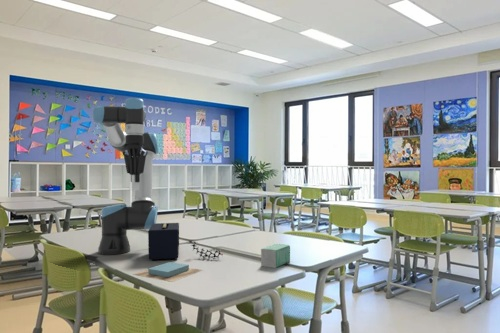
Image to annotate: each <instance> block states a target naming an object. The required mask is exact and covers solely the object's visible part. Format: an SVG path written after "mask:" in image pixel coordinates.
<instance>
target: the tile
mask: <svg viewBox="0 0 500 333" xmlns="http://www.w3.org/2000/svg"><path fill="white" fill-rule="evenodd" d="M189 268H190V266H189V264H185V263H179V262H171V261H169V262H166V263H165V262H164V263H162V264H159V265H156V266H152V267H150V268H149V267H148V268H147V270H148V274H152V275H157V276H163V277H170V276H173V275H176V274H179V273H182V272H184V271H187V270H189Z"/></svg>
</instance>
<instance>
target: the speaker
mask: <svg viewBox="0 0 500 333" xmlns="http://www.w3.org/2000/svg"><path fill="white" fill-rule="evenodd" d="M147 233H148V234H147V236H148V241H147V242H148V250H147V251H148V252H147V253H148V260H151V261H157V260H165V259H166V260H168V259H170V260H172V261H173V260H176V259H178V258H179V252H180V222H162V223H161V222H160V223H158V222H156V224H152V226H151V227H150V229H148V232H147Z"/></svg>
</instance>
